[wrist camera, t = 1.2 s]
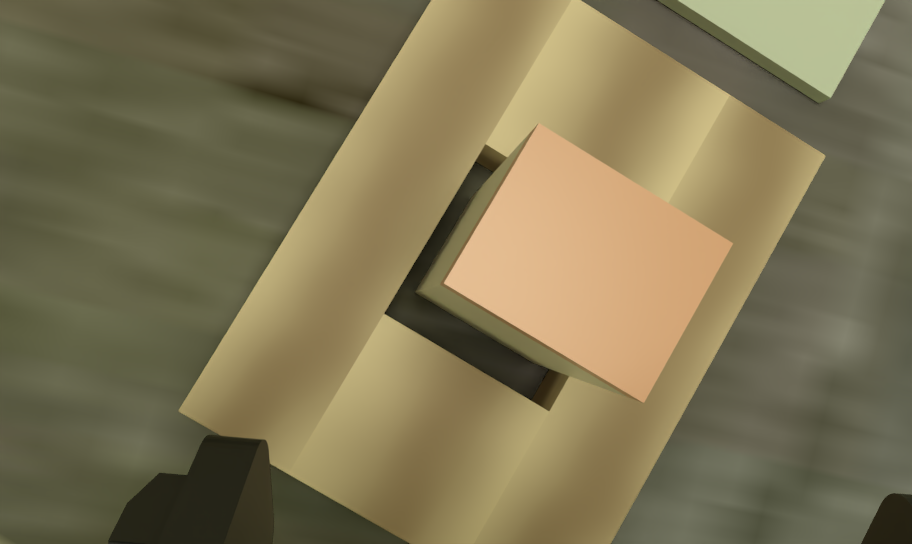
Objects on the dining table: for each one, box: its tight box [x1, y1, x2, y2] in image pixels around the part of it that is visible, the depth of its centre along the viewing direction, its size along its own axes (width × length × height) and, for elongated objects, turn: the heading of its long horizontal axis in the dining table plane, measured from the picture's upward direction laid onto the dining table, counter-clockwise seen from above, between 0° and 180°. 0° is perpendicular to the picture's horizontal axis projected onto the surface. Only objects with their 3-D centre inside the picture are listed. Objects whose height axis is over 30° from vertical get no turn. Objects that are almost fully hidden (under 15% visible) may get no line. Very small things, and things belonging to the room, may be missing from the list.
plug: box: [415, 123, 733, 403], centre depth 23 cm, size 5×4×12 cm
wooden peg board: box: [179, 0, 825, 544], centre depth 28 cm, size 14×18×3 cm
